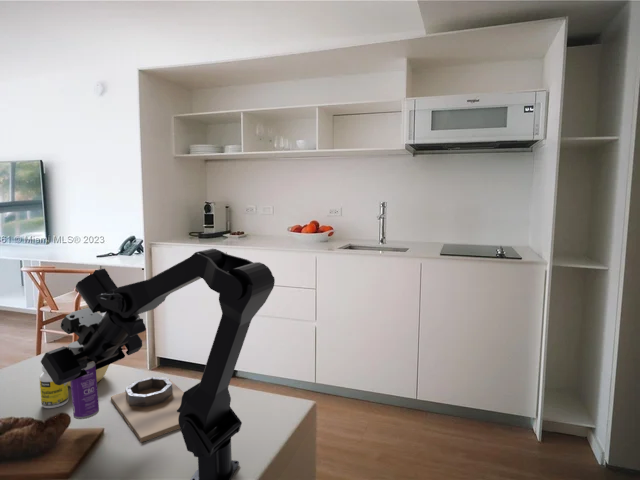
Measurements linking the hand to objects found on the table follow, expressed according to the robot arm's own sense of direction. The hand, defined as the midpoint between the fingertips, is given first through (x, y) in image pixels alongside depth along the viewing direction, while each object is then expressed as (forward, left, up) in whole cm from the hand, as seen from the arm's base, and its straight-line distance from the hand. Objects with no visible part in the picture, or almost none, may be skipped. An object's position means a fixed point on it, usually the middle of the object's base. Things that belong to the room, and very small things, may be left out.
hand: (78, 374), depth 88 cm
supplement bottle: (+8, +14, -12) cm, 20 cm away
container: (0, -1, -8) cm, 8 cm away
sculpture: (+19, +15, -12) cm, 27 cm away
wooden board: (+10, -11, -12) cm, 19 cm away
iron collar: (+13, -7, -12) cm, 19 cm away
